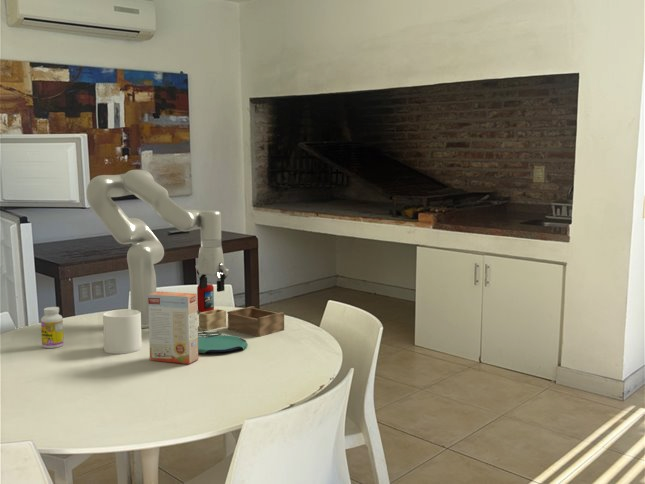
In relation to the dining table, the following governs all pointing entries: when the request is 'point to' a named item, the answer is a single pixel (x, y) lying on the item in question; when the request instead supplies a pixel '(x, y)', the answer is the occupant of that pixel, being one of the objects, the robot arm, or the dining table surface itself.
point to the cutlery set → (219, 342)
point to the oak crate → (212, 319)
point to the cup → (122, 331)
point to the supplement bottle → (52, 328)
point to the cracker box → (173, 327)
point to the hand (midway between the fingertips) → (212, 289)
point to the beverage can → (205, 298)
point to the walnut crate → (255, 321)
